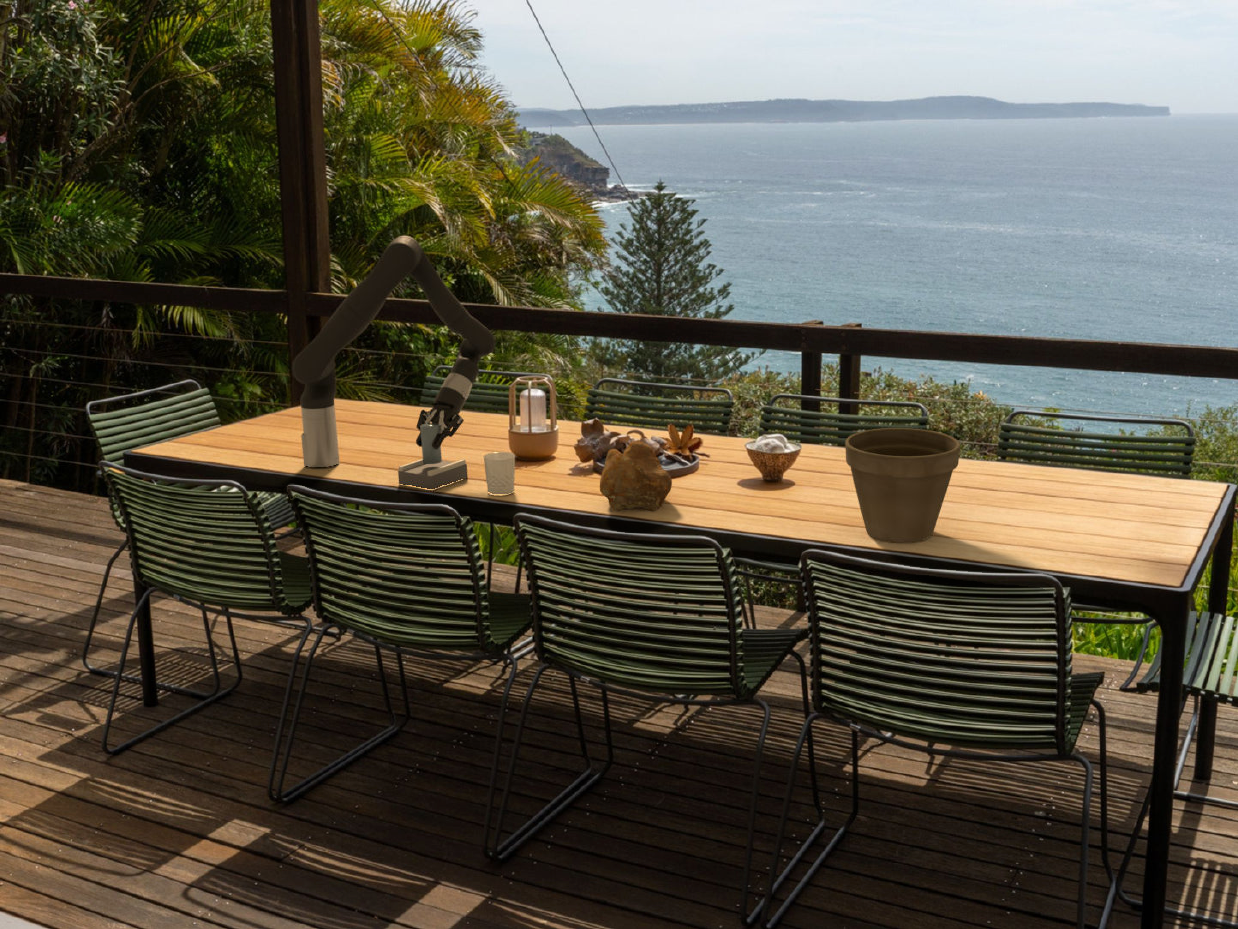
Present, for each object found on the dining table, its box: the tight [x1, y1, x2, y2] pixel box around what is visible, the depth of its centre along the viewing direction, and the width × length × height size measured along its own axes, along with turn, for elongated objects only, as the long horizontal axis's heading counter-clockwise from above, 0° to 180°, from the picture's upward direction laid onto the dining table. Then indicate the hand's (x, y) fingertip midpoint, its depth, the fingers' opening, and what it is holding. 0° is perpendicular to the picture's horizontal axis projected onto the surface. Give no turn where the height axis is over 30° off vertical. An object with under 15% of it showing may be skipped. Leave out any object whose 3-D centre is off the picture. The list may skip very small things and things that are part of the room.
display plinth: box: [397, 458, 468, 489], centre depth 321 cm, size 14×12×5 cm
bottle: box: [420, 422, 443, 464], centre depth 319 cm, size 5×5×10 cm
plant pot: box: [845, 427, 961, 544], centre depth 267 cm, size 25×25×22 cm
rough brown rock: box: [599, 440, 673, 512], centre depth 295 cm, size 23×17×15 cm
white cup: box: [483, 451, 516, 494], centre depth 308 cm, size 8×8×10 cm
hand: (426, 446), depth 317 cm, fingers closed on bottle, 5 cm apart
